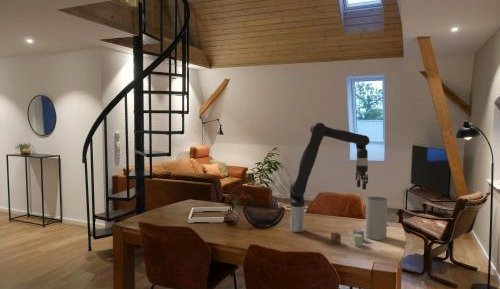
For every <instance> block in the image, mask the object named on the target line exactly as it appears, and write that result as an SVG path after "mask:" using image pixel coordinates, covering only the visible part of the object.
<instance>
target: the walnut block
mask: <svg viewBox="0 0 500 289" xmlns="http://www.w3.org/2000/svg"><path fill="white" fill-rule="evenodd" d="M341 237H342V235H341V233H339V232H330V243H331V244H332V245H335V246H337V245H341V243H342V241H341V239H342V238H341Z"/></svg>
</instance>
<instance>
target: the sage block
mask: <svg viewBox="0 0 500 289" xmlns="http://www.w3.org/2000/svg"><path fill="white" fill-rule="evenodd" d="M363 242H364V241H363V236H362V235H360V234H352V243H351V244H352V245H353V246H354V247H355V248H356V247H357V248H358V247H364V246H363Z"/></svg>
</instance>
